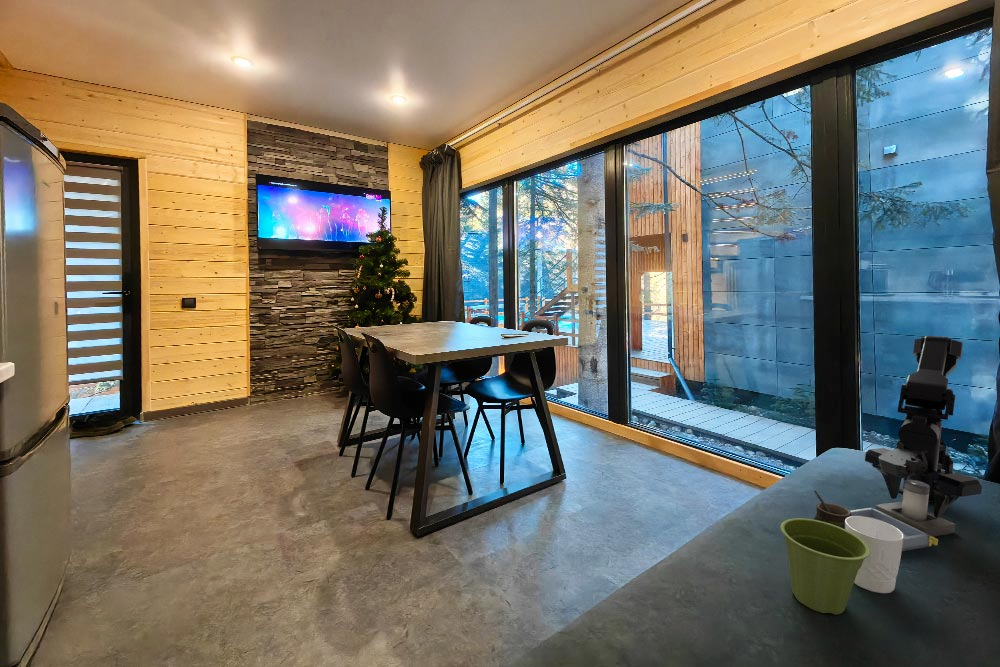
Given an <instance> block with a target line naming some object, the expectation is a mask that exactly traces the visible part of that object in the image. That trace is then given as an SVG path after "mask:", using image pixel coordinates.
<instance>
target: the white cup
mask: <svg viewBox="0 0 1000 667" xmlns="http://www.w3.org/2000/svg"><path fill="white" fill-rule="evenodd" d="M845 530H847V531H849V532H851V533H853V534H855V535H856V536H858V537H859V538H861V539H862V540H863V541H864V542H865V543H866V544H867V545H868V547H869V548H870V555H869V556H868V557H867V558H865V559H864V560H863V563H862V566H861V567H860V569H859V570H858V572H857V575H856V578H855V581H854V584H855V585H856V586H858V587H860V588H862V589H865V590H867V591H870V592H873V593H879V594H890V593H893V591H895V590H896V589H895V588H896V581H897V576H898V573H899V567H900V563H901V556H902V553H903V551H902V546H903V540H904V534H903V533H902V532H901V531H900V530H899V529H897V528H896V527H894V526H892V525H890V524H888V523H886V522H883V521H880V520H877V519H873V518H869V517H863V516H851V517H847V518H846V519H845Z"/></svg>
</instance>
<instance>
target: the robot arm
mask: <svg viewBox="0 0 1000 667" xmlns="http://www.w3.org/2000/svg"><path fill="white" fill-rule="evenodd" d="M963 345H964V343H963V341H959V340H956V339H952V338H951V337H948V336H937V335H926V336H921V338H915V339H914V342H913V350H912V355H913V356H914V357H916V363H917V364H918V366H917V370H916V371H915V372H912V373H911V374H909V375H908V376H907V379H906V383H902V384H901V387H900V394H899V400H898V407H897V413H898V414H899V413H900V414H905V416H904V422H902V425H901V426H900V428H899V429H898V432H897V435H898V440H897V443H896V446H895V448H894V449H889V448H885V447H880V448H879V447H878V448H870V449H868V450H866V452H864V462H867V463H870V464H871V466H872V468H874V469H876V470H878V472H880V473H881V475H882V478H883V480H884V482H885V485H886V488H887V491H888V493H889V496H890V499H893V500H895V499H897V497H898V495H899V493H902V494H903V490H904V481H905V480H916V481H920V482H923V483H926V484H928V485H929V486H930V488H929V498H928V504H929V503H934V507H933V508H934V509H933V514H934V517H936V518H940V517H941V518H942V516H943V515H944V514H945V513H946V511H947V510H948V509H949V508H950V507H951V505H952V504H953V503H954V502H955V501H957V499H959V498H961V497H969V496H976V495H981V494H982V490H983V485H982V483H981V481H979V479H976V478H974V477H972V476H969V475H965V474H962V473H959V472H954V463H955V462H954V460H953V459H952V458H951V454H949V453H948V454H947V450H948V449H947V446H946V444H945V442H944V440H943V439H942V437H941V436H942V435H941V434H942V427H943V420H944V421H948V420H949V416H952V417H953V416H954V411H955V410H954V409H955V404H956V395H955V393H954V390H953V389H952V388H949V378H947V376H948V375H949V374H951V373H952V372H953V371H954V370H955V369H956V368H957V366H958V365H957V364H958V360H962V357H963V347H964V346H963ZM943 412H944V413H943ZM902 479H903V484H902V483H901V482H902ZM901 484H902V487H901ZM900 487H901V488H900Z"/></svg>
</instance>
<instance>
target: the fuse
mask: <svg viewBox="0 0 1000 667" xmlns="http://www.w3.org/2000/svg"><path fill="white" fill-rule="evenodd" d="M903 483H904V490H903V493H902V511H901V514H902V515H904V516H906V517H908V518H910V519H913V520H915V521H917V522H922V521H926V517H927V512H928V506H929V503H928V498H929V488H930V486H929V485H928V484H926V483H923V482H920V481H916V480H905V481H904V480H903Z"/></svg>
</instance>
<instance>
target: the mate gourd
mask: <svg viewBox="0 0 1000 667" xmlns="http://www.w3.org/2000/svg"><path fill="white" fill-rule="evenodd" d="M814 493H815V495H816V497H817V498H818V500H819V501H820V502H819V503H818V504H816V511H815V512H816V514H815V516H814V518H813V520H818V521H822V522H826V523H829V524H833V525H835V526H838V527H841V528H843V529H845V519H846V518H847V517H851V512H850V509H848V508H846V507H845V506H842V505H839V504H836V503H831V502H825V501H824V500H823V499H822V497H821V496H820V494H819V493H818V491H817V490H814Z"/></svg>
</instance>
